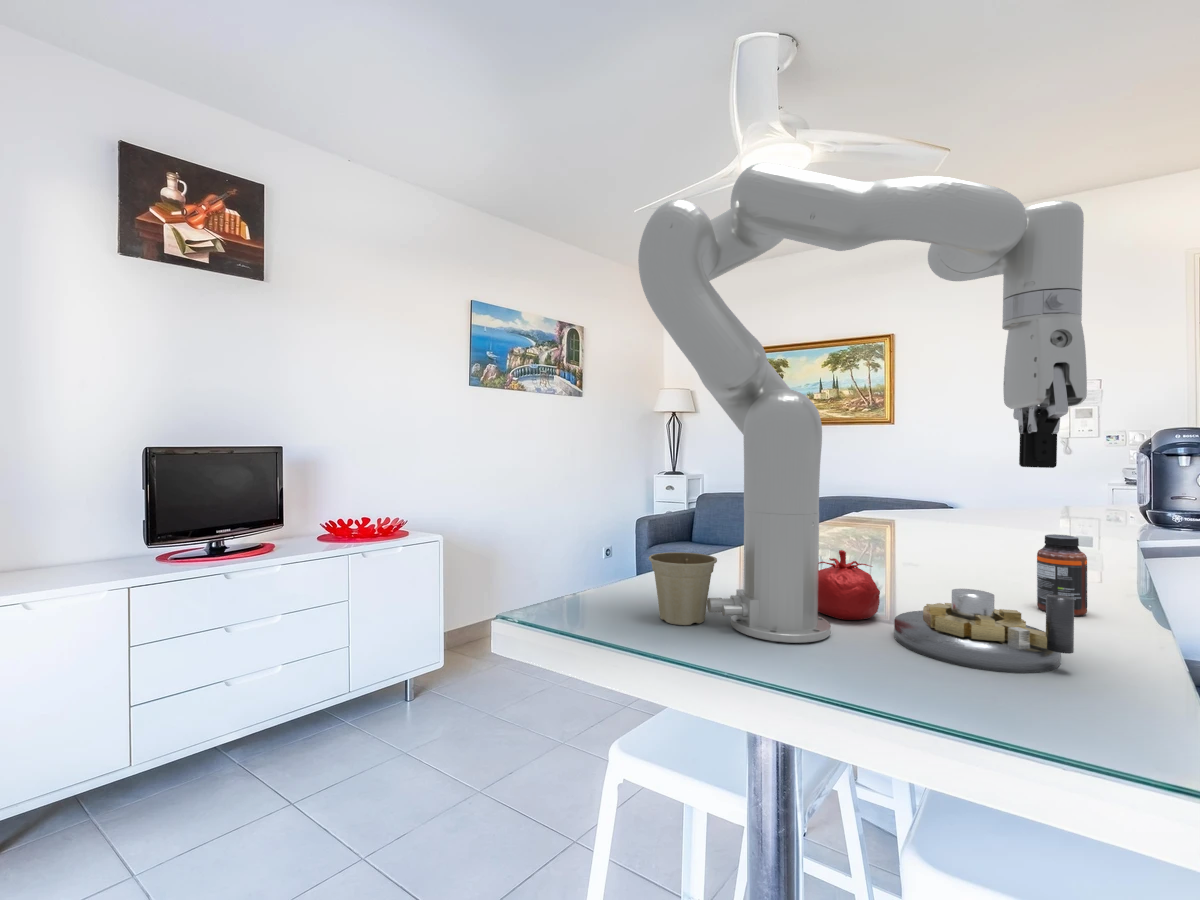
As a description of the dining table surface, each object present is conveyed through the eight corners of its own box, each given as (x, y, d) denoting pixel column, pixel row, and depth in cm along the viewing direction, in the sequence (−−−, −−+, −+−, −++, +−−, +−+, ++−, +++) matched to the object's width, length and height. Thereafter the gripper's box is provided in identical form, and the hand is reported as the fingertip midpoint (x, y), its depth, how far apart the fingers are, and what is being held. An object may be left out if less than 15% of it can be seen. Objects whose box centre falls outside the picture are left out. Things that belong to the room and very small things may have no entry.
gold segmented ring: (908, 622, 73) (908, 576, 73) (953, 611, 78) (954, 569, 78) (1050, 661, 60) (1050, 605, 60) (1093, 645, 65) (1094, 594, 65)
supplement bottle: (1068, 606, 90) (1069, 533, 90) (1097, 618, 84) (1098, 539, 84) (1027, 605, 91) (1028, 532, 91) (1053, 616, 85) (1054, 538, 85)
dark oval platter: (954, 674, 62) (955, 613, 62) (867, 626, 79) (868, 578, 79) (1102, 671, 63) (1102, 611, 63) (985, 624, 80) (985, 576, 80)
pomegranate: (833, 627, 78) (834, 558, 78) (794, 607, 88) (794, 546, 88) (897, 623, 80) (898, 556, 80) (852, 604, 90) (853, 544, 90)
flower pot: (643, 610, 86) (643, 551, 85) (706, 609, 86) (706, 551, 86) (654, 630, 76) (655, 564, 76) (725, 629, 77) (725, 563, 77)
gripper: (1116, 295, 61) (1112, 470, 61) (1046, 325, 76) (1043, 466, 76) (1034, 298, 63) (1030, 468, 63) (980, 326, 77) (977, 465, 78)
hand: (1037, 466), depth 69 cm, fingers closed
